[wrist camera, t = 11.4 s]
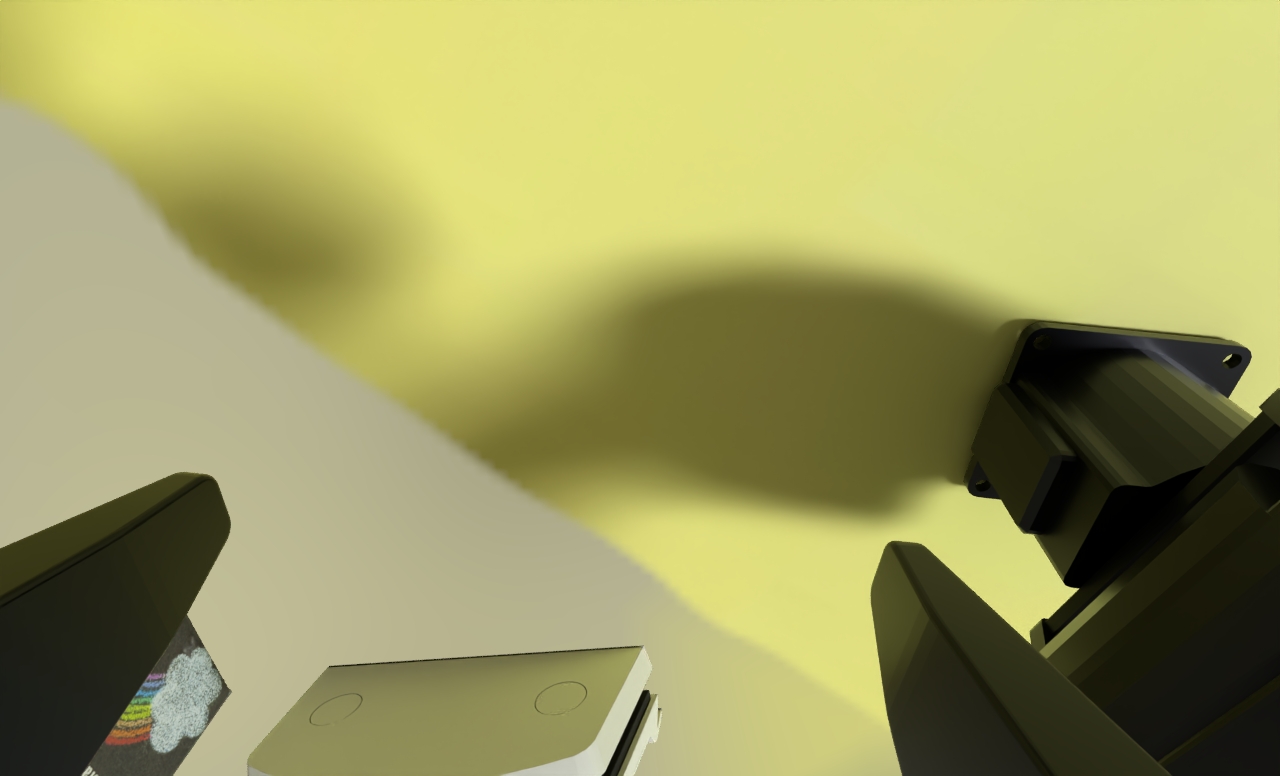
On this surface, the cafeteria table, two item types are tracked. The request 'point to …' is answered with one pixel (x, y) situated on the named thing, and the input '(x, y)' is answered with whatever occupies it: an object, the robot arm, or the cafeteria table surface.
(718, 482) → the cafeteria table surface
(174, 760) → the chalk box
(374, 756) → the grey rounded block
